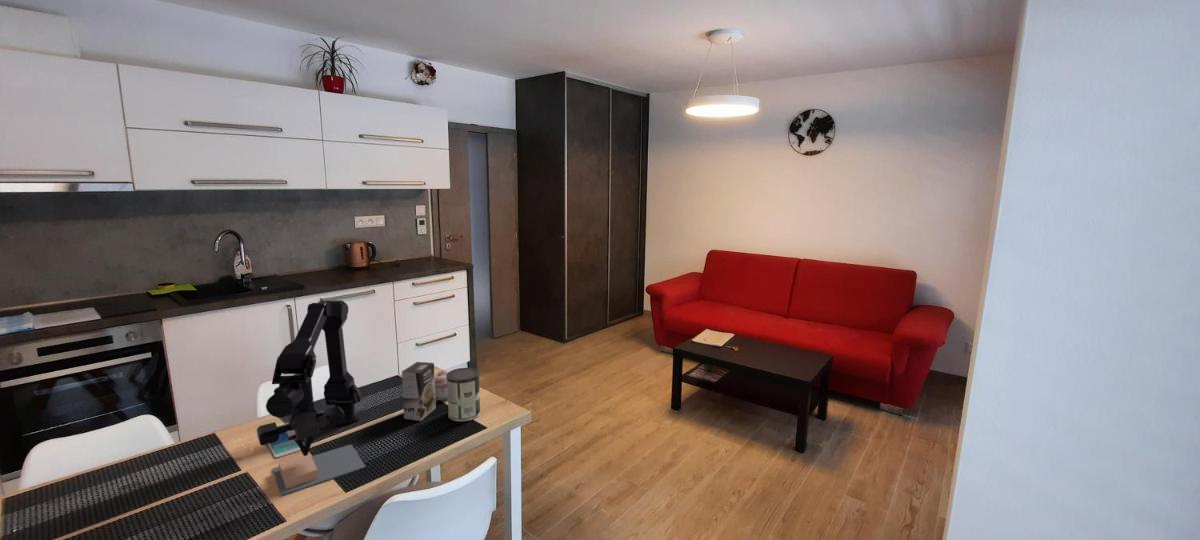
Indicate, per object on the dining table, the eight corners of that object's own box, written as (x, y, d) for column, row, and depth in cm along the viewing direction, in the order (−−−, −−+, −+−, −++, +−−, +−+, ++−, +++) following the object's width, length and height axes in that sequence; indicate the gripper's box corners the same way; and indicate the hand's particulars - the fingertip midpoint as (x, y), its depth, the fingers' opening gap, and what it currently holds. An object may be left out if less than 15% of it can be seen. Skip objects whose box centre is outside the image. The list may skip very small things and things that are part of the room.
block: (310, 460, 133) (279, 470, 128) (309, 452, 132) (278, 461, 128) (318, 478, 125) (286, 489, 121) (317, 469, 125) (285, 479, 121)
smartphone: (275, 457, 134) (263, 436, 145) (275, 460, 134) (263, 438, 145) (306, 447, 139) (292, 427, 150) (306, 450, 139) (292, 430, 150)
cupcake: (442, 405, 167) (441, 377, 165) (424, 398, 172) (422, 370, 170) (463, 395, 175) (462, 368, 173) (445, 388, 180) (444, 362, 178)
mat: (272, 469, 129) (272, 468, 129) (351, 445, 141) (351, 444, 141) (281, 496, 119) (281, 494, 119) (365, 467, 131) (365, 466, 131)
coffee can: (465, 404, 168) (464, 364, 166) (487, 412, 163) (486, 371, 160) (441, 416, 160) (439, 374, 157) (463, 425, 154) (461, 382, 152)
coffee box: (421, 421, 156) (419, 373, 153) (403, 419, 157) (400, 371, 154) (436, 408, 165) (434, 362, 162) (419, 406, 166) (416, 360, 163)
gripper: (259, 421, 112) (266, 483, 115) (348, 399, 124) (353, 456, 127) (253, 404, 121) (260, 462, 124) (337, 385, 133) (342, 438, 136)
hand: (305, 455), depth 127 cm, fingers closed
